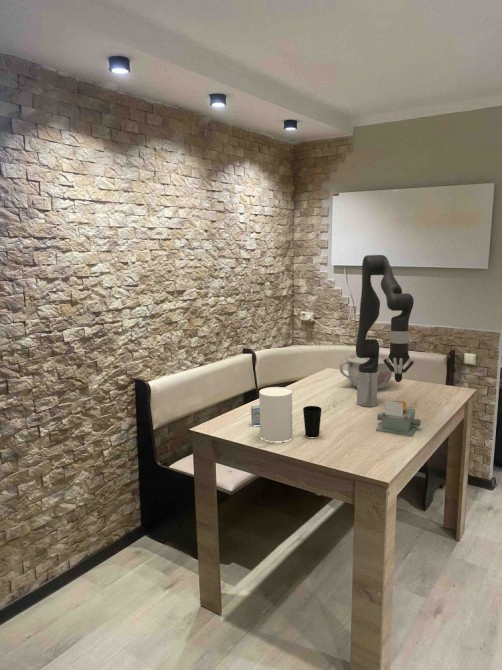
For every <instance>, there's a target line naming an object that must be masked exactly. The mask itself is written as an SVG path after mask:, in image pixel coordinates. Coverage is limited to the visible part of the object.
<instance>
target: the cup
mask: <svg viewBox="0 0 502 670" xmlns="http://www.w3.org/2000/svg"><path fill="white" fill-rule="evenodd" d="M302 412H303V423H304V424H303V425H304V431H305V437H306V436H308V437H318V436H319V437H320V430H321V429H320V428H321V418H322V417H321V416H322V407H320V406H317V405H308V406H304V407H303V408H302ZM308 437H307V438H308ZM319 437H318V438H319Z"/></svg>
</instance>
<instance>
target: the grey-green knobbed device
mask: <svg viewBox="0 0 502 670" xmlns="http://www.w3.org/2000/svg"><path fill="white" fill-rule="evenodd" d="M415 417H416V408H412V407H406V413H404V414H403V419H398V418H390V417H386V410H385V411H383V412H381V413H377V417H376V419H377V421H380V422H381V423H380V424H379V425H378V426H377V427H376V429H375V431H376V432H380V433H387V434H392V435H393V434H394V435H400V436H406V437H413V435H414V434H415V432H416V430H417V429H418V427H420V426H421V424H422V423H421V419H419V418H415Z"/></svg>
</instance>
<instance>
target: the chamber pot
mask: <svg viewBox="0 0 502 670" xmlns="http://www.w3.org/2000/svg"><path fill="white" fill-rule="evenodd" d="M388 356H389V354H386V353H385V354H384V353H379V360H378V377H377V391H379V390H381V389H384V388H386V387H387V386H388V384H389V382H390V381H391V379H392V376H393V372H392V371H390V369H389V368H388V367H387V365H386V364H385V363H384V359H386V358H388ZM369 359H370V358H358V357H357V355H356V353H353V354H350V355H347V356H346V357H345V359H344V360H342V361H341V362H340V364H339V369H338V370H339V372H340V374H341V375H342V376H343V377H345V378H347V379H348V380H349V381H350V383H351V384H353V386H354V387H356V388H357V386H358V384H359V365H360V364H363V363H365V362H367V361H368V360H369ZM390 363H392V362H391V360H390ZM345 364H346V365H347V374H348V375H347V374H346V373H345V372H344V370H343V367H344V365H345ZM392 364H393V363H392Z"/></svg>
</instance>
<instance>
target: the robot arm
mask: <svg viewBox="0 0 502 670" xmlns="http://www.w3.org/2000/svg"><path fill="white" fill-rule="evenodd" d="M381 275H382V278H381V281H380V288H381V290H382V292H383V294H384V295H385V297H386V298H385V299H386V307H387V309H389V310H390V311H394V312H397V311H401V313H400V314H398V315H394V316H393V317H391V319H390V336H389V354H388V355H389V356H388V358H386V359H384V363H385V364H386V365H387V367H388V368H389V369H390V371H392V373H394V380H395V382H397V383H401V382H402V381H403V373H404V374H406V373H407V371H408V370H410V368H411V367H412V366H413V365H414V364H415V361H414V360H412V359H411V358H410V357H411V356H410V354H409V348H410V347H409V344H410V336H409V323H410V322H409V321H410V317H411V314H412V311H413V307H414V301H415V300H414V298H413V296H412V294H411V293H408V292H407V293H406V292H405V293H403V289H402V287H401V285H400V284H399V283H398V281H397V279H396V278H395V276H394V273H393V269H392V267H391V264H390V262H389V259H388V257H386V255H383V254H369V255H364V257H363V259H362V264H361V295H360V303H359V305H360V306H359V318H358V319H359V320H358V322H359V323H358V329H357V336H356V342H355V343H356V344H355V354H356V355H357V357H358V358H370V359H369V360H368V361H367V362H365V363H363V364H360V365H359V384H358V386H357V387H356V405H358V406H360V407H366V408H372V407H377V405H378V390H377V377H378V360H379V354H380V343H379V340H377V339H376V338H372V339H371V338H369V339H368V338H367V335H368V333H369V331H370V329H371V328H372V327H373V325H374V324H375V323H376V321H377V320H378V319H379V318H378V317H379V315H380V309H381V300H380V298H379V297H378V296H379V295H377V293H376V291H375V290H374V287H373V285H372V279H371V278H372V276H381ZM366 338H367V339H366ZM390 360H391V362H392V364H393V365H392V364H391V363H390ZM406 364H407V366H406V367H404V366H405V365H406Z"/></svg>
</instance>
